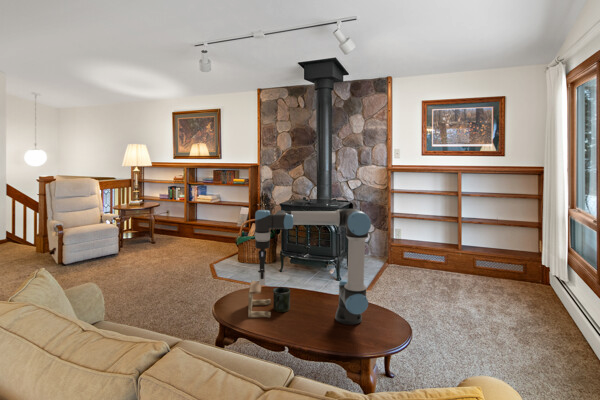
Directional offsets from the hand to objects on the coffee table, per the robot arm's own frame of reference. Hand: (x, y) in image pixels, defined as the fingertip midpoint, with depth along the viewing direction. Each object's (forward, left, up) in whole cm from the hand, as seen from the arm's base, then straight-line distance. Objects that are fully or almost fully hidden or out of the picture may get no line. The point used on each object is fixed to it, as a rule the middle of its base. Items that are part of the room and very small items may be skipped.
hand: (262, 280), depth 186 cm
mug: (-11, -28, -28) cm, 41 cm away
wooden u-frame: (+3, -28, -28) cm, 40 cm away
